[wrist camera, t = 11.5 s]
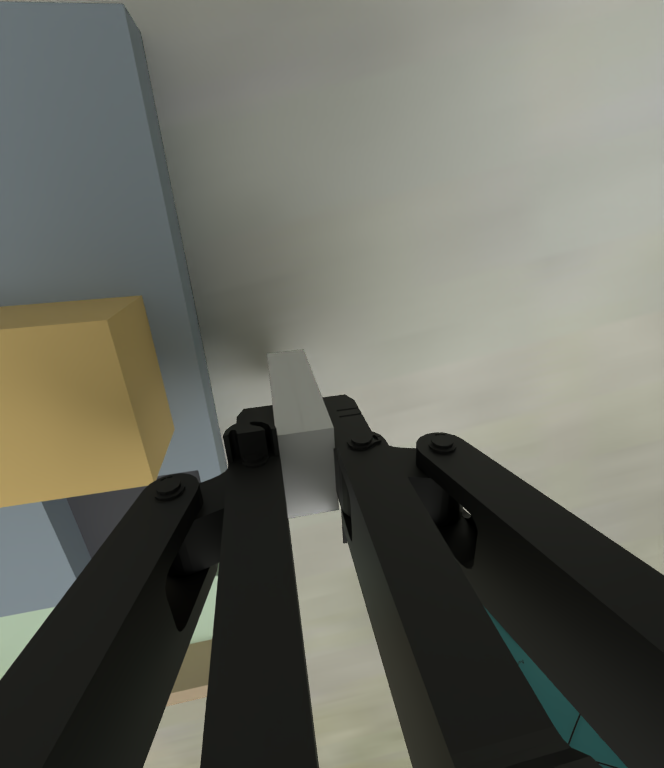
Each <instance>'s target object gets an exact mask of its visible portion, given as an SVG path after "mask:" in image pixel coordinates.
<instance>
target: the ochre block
mask: <svg viewBox="0 0 664 768" xmlns="http://www.w3.org/2000/svg"><path fill="white" fill-rule="evenodd" d="M174 430H175V428H174V424H173V420H172V416H171V412H170V408H169V404H168V400H167V396H166V392H165V387H164V383H163V379H162V375H161V371H160V367H159V363H158V359H157V355H156V351H155V347H154V343H153V339H152V334H151V330H150V326H149V322H148V318H147V314H146V310H145V306H144V302H143V298H142V295H140V296H127V297H115V298H102V299H90V300H77V301H65V302H52V303H40V304H27V305H15V306H2V307H0V508H2V507H8V506H15V505H22V504H29V503H35V502H42V501H49V500H55V499H62V498H69V497H75V496H82V495H89V494H95V493H102V492H109V491H116V490H122V489H129V488H136V487H142V486H148V485H149V484H150V483H152V482H154V481H156V479H157V476H158V474H159V471H160V468H161V465H162V463H163V460H164V457H165V455H166V452H167V449H168V446H169V444H170V441H171V438H172V435H173V433H174Z"/></svg>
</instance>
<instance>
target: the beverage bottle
mask: <svg viewBox="0 0 664 768" xmlns="http://www.w3.org/2000/svg"><path fill="white" fill-rule="evenodd" d="M484 608H485V607H484ZM485 609H486V608H485ZM486 611H487V613H488V615H489V616H490V618H491V620H492V621H493V623H494V625H495V626H496V628H497V630H498V632H499V633H500V635H501V637H502V638H503V640H504V642H505V643H506V645H507V647H508V648H509V650H510V652H511V654H512V655H513V657H514V659H515V660H516V662H517V664H518V665H519V667H520V669H521V671H522V672H523V674H524V676H525V677H526V679H527V681H528V682H529V684H530V686H531V687H532V689H533V691H534V693H535V694H536V696H537V698H538V699H539V701H540V703H541V704H542V706H543V708H544V709H545V711H546V713H547V715H548V716H549V718H550V720H551V721H552V723H553V725H554V726H555V728H556V729H557V731H558V732H559V734H560V735H561V737H562V738H563V739H564V740H565V741H566V742H567V743H568V744H569V746H570V747H571V748H574V749H576V750H578V751H580V752H583V753H585V754H587V755H590V756H591V757H592V758H593V759H594V760H595V761H596V762H597V763H598V764H599V765H601V766H602V767H603V768H627V766H626V765H625V764H624V763H623V762H622V761H621V760H620V759H619V757H618V756H617V755H616V754H615V753H614V752H613V751H612V750H611V748H610V747H609V746H608V745H607V744H606V743H605V742H604V741H603V739H602V738H601V737H600V736H599V735H598V734H597V733H596V732H595V730H594V729H593V728H592V727H591V726H590V725H589V724H588V723H587V721H586V720H585V719H584V718H583V717H582V716H581V715H580V714H579V712H578V711H577V710H576V709H575V708H574V707H573V706H572V705H571V703H570V702H569V701H568V700H567V699H566V698H565V697H564V696H563V695H562V693H561V692H560V691H559V690H558V689H557V688H556V687H555V686H554V684H553V683H552V682H551V681H550V680H549V679H548V678H547V677H546V675H545V674H544V673H543V672H542V671H541V670H540V669H539V668H538V666H537V665H536V664H535V663H534V662H533V661H532V660H531V659H530V657H529V656H528V655H527V654H526V653H525V652H524V651H523V650H522V648H521V647H520V646H519V645H518V644H517V643H516V642H515V641H514V639H513V638H512V637H511V636H510V635H509V634H508V633H507V632H506V630H505V629H504V628H503V627H502V626H501V625H500V624H499V623H498V622H497V620H496V619H495V618H494V617H493V616H492V615H491V614H490V613H489V611H488V610H487V609H486Z"/></svg>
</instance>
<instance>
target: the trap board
mask: <svg viewBox="0 0 664 768" xmlns="http://www.w3.org/2000/svg"><path fill="white" fill-rule="evenodd" d="M140 295H142V298H143V302H144V306H145V310H146V314H147V318H148V322H149V326H150V330H151V334H152V339H153V343H154V347H155V351H156V355H157V359H158V363H159V367H160V371H161V375H162V379H163V383H164V387H165V392H166V396H167V400H168V404H169V408H170V412H171V416H172V420H173V424H174V428H175V430H174V433H173V435H172V438H171V441H170V444H169V446H168V449H167V452H166V455H165V457H164V460H163V463H162V465H161V468H160V471H159V474H158V476H157V479H159V478H161V477H164V476H167V475H170V474H177V473H185V474H191V475H193V476H195V477H196V478H197V480H198V482H199V483H201V482H204V481H207V480H209V479H212V478H214V477H216V476H218V475H220V474H222V473H223V472H225V471H226V470H227V465H226V460H225V455H224V450H223V444H222V439H221V434H220V429H219V424H218V419H217V414H216V409H215V404H214V399H213V394H212V389H211V384H210V379H209V374H208V369H207V364H206V359H205V354H204V349H203V344H202V339H201V334H200V329H199V324H198V319H197V314H196V309H195V304H194V299H193V294H192V289H191V284H190V279H189V274H188V269H187V264H186V259H185V253H184V248H183V243H182V238H181V233H180V228H179V223H178V218H177V213H176V208H175V203H174V198H173V193H172V188H171V183H170V178H169V173H168V168H167V163H166V158H165V153H164V148H163V143H162V138H161V133H160V128H159V123H158V118H157V113H156V108H155V103H154V98H153V93H152V88H151V83H150V78H149V73H148V68H147V63H146V57H145V52H144V47H143V42H142V37H141V32H140V30H139V29H138V27H137V26H136V24H135V22H134V21H133V19H132V17H131V16H130V14H129V12H128V11H127V9H126V8H125V6H124V4H109V3H54V2H0V307H2V306H15V305H27V304H40V303H52V302H65V301H77V300H90V299H102V298H115V297H127V296H140ZM157 479H156V480H157ZM146 487H147V486H142V487H136V488H129V489H122V490H116V491H109V492H102V493H95V494H89V495H82V496H75V497H69V498H62V499H55V500H49V501H42V502H35V503H29V504H22V505H15V506H8V507H2V508H0V680H1V678H2V677H3V676H4V674H5V673H6V672H7V670H8V669H9V668H10V666H11V665H12V664H13V662H14V661H15V660H16V658H17V657H18V656H19V654H20V653H21V652H22V650H23V649H24V648H25V646H26V645H27V644H28V643H29V641H30V640H31V639H32V637H33V636H34V635H35V633H36V632H37V631H38V629H39V628H40V627H41V625H42V624H43V623H44V621H45V620H46V619H47V617H48V616H49V615H50V613H51V612H52V611H53V609H54V608H55V607H56V605H57V604H58V603H59V601H60V600H61V599H62V597H63V596H64V595H65V593H66V592H67V591H68V589H69V588H70V587H71V585H72V584H73V583H74V581H75V580H76V579H77V577H78V576H79V575H80V573H81V572H82V571H83V569H84V568H85V567H86V565H87V564H88V563H89V561H90V560H91V559H92V557H93V556H94V555H95V553H96V552H97V551H98V549H99V548H100V547H101V545H102V544H103V543H104V542H105V540H106V539H107V538H108V536H109V535H110V534H111V532H112V531H113V530H114V528H115V527H116V526H117V524H118V523H119V522H120V520H121V519H122V518H123V516H124V515H125V514H126V512H127V511H128V510H129V508H130V507H131V506H132V504H133V503H134V502H135V500H136V499H137V498H138V496H139V495H140V494H141V492H142V491H143V490H144V489H145V488H146ZM218 571H219V563H218V568H217V573H216V575H215V578H214V581H213V583H212V586H211V589H210V591H209V594H208V597H207V599H206V602H205V604H204V607H203V610H202V612H201V615H200V618H199V620H198V623H197V626H196V628H195V631H194V634H193V636H192V639H191V641H190V644H189V647H188V649H187V652H186V655H185V657H184V660H183V663H182V665H181V668H180V670H179V673H178V676H177V678H176V681H175V684H174V686H173V689H172V692H171V694H170V697H169V700H168V702H167V705H166V706H170V705H174V704H178V703H183V702H187V701H191V700H196V699H200V698H204V697H207V690H208V679H209V668H210V657H211V646H212V636H213V625H214V614H215V603H216V592H217V581H218Z"/></svg>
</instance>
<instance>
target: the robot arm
mask: <svg viewBox="0 0 664 768" xmlns="http://www.w3.org/2000/svg"><path fill="white" fill-rule="evenodd" d="M267 358H268V367H269V376H270V386H271V395H272V404H273V405H270V406H263V407H255V408H248V409H243V410H242V412H241V413H240V414H239V415H238V416H237V423H236V424H234V425H232V426H231V427H229V428H228V429H227V430H226V431H225V433H224V435H223V439H224V444H225V449H226V454H227V459H228V469H227V470H226V471H225V472H223V473H222V474H220V475H218V476H216V477H214V478H212V479H209V480H207V481H204V482H201V483H199V482H198V480H197V478H196V477H195V476H193V475H191V474H185V473H177V474H170V475H167V476H164V477H161V478H159V479H157V480H156V481H154V482H152V483H150V484H149V485H148V486H147V487H146V488H145V489H144V490H143V491H142V492H141V494H140V495H139V496H138V498H137V499H136V500H135V502H134V503H133V504H132V506H131V507H130V508H129V510H128V511H127V512H126V514H125V515H124V516H123V518H122V519H121V520H120V522H119V523H118V524H117V526H116V527H115V528H114V530H113V531H112V532H111V534H110V535H109V536H108V538H107V539H106V540H105V542H104V543H103V544H102V545H101V547H100V548H99V549H98V551H97V552H96V553H95V555H94V556H93V557H92V559H91V560H90V561H89V563H88V564H87V565H86V567H85V568H84V569H83V571H82V572H81V573H80V575H79V576H78V577H77V579H76V580H75V581H74V583H73V584H72V585H71V587H70V588H69V589H68V591H67V592H66V593H65V595H64V596H63V597H62V599H61V600H60V601H59V603H58V604H57V605H56V607H55V608H54V609H53V611H52V612H51V613H50V615H49V616H48V617H47V619H46V620H45V621H44V623H43V624H42V625H41V627H40V628H39V629H38V631H37V632H36V633H35V635H34V636H33V637H32V639H31V640H30V641H29V643H28V644H27V645H26V646H25V648H24V649H23V650H22V652H21V653H20V654H19V656H18V657H17V658H16V660H15V661H14V662H13V664H12V665H11V666H10V668H9V669H8V670H7V672H6V673H5V674H4V676H3V677H2V678H1V680H0V768H143V766H144V763H145V760H146V758H147V755H148V752H149V750H150V747H151V744H152V742H153V739H154V737H155V734H156V731H157V729H158V726H159V723H160V721H161V718H162V715H163V713H164V710H165V707H166V705H167V702H168V700H169V697H170V694H171V692H172V689H173V686H174V684H175V681H176V678H177V676H178V673H179V670H180V668H181V665H182V663H183V660H184V657H185V655H186V652H187V649H188V647H189V644H190V641H191V639H192V636H193V634H194V631H195V628H196V626H197V623H198V620H199V618H200V615H201V612H202V610H203V607H204V604H205V602H206V599H207V597H208V594H209V591H210V589H211V586H212V583H213V581H214V578H215V575H216V573H217V568H218V563H219V571H218V581H217V592H216V603H215V614H214V625H213V636H212V646H211V657H210V668H209V679H208V690H207V701H206V711H205V722H204V733H203V744H202V755H201V765H200V768H319V764H318V756H317V747H316V739H315V731H314V723H313V715H312V707H311V699H310V690H309V682H308V674H307V666H306V658H305V650H304V642H303V634H302V625H301V617H300V609H299V601H298V593H297V585H296V577H295V569H294V560H293V552H292V544H291V536H290V528H289V521H288V519H289V518H295V517H300V516H306V515H312V514H317V513H323V512H329V511H334V510H339V504H338V499H339V502H340V505H341V514H342V531H343V543H347V542H348V545H349V548H350V552H351V555H352V559H353V562H354V566H355V569H356V573H357V576H358V580H359V583H360V587H361V590H362V593H363V597H364V600H365V604H366V607H367V611H368V614H369V618H370V621H371V625H372V628H373V632H374V635H375V638H376V642H377V645H378V649H379V652H380V656H381V659H382V663H383V666H384V670H385V673H386V677H387V680H388V683H389V687H390V690H391V694H392V697H393V701H394V704H395V708H396V711H397V715H398V718H399V722H400V725H401V729H402V732H403V735H404V739H405V742H406V746H407V749H408V753H409V756H410V760H411V763H412V767H413V768H603V767H602V766H601V765H599V764H598V763H597V762H596V761H595V760H594V759H593V758H592V757H591V756H590V755H587V754H585V753H583V752H580V751H578V750H576V749H574V748H571V747H570V746H569V744H568V743H567V742H566V741H565V740H564V739H563V738H562V737H561V735H560V734H559V732H558V731H557V729H556V728H555V726H554V725H553V723H552V721H551V720H550V718H549V716H548V715H547V713H546V711H545V709H544V708H543V706H542V704H541V703H540V701H539V699H538V698H537V696H536V694H535V693H534V691H533V689H532V687H531V686H530V684H529V682H528V681H527V679H526V677H525V676H524V674H523V672H522V671H521V669H520V667H519V665H518V664H517V662H516V660H515V659H514V657H513V655H512V654H511V652H510V650H509V648H508V647H507V645H506V643H505V642H504V640H503V638H502V637H501V635H500V633H499V632H498V630H497V628H496V626H495V625H494V623H493V621H492V620H491V618H490V616H489V615H488V613H487V611H486V609H487V610H488V611H489V613H490V614H491V615H492V616H493V617H494V618H495V619H496V620H497V622H498V623H499V624H500V625H501V626H502V627H503V628H504V629H505V630H506V632H507V633H508V634H509V635H510V636H511V637H512V638H513V639H514V641H515V642H516V643H517V644H518V645H519V646H520V647H521V648H522V650H523V651H524V652H525V653H526V654H527V655H528V656H529V657H530V659H531V660H532V661H533V662H534V663H535V664H536V665H537V666H538V668H539V669H540V670H541V671H542V672H543V673H544V674H545V675H546V677H547V678H548V679H549V680H550V681H551V682H552V683H553V684H554V686H555V687H556V688H557V689H558V690H559V691H560V692H561V693H562V695H563V696H564V697H565V698H566V699H567V700H568V701H569V702H570V703H571V705H572V706H573V707H574V708H575V709H576V710H577V711H578V712H579V714H580V715H581V716H582V717H583V718H584V719H585V720H586V721H587V723H588V724H589V725H590V726H591V727H592V728H593V729H594V730H595V732H596V733H597V734H598V735H599V736H600V737H601V738H602V739H603V741H604V742H605V743H606V744H607V745H608V746H609V747H610V748H611V750H612V751H613V752H614V753H615V754H616V755H617V756H618V757H619V759H620V760H621V761H622V762H623V763H624V764H625V765H626V766H627V768H664V575H662V574H661V573H660V572H658V571H657V570H655V569H654V568H652V567H651V566H649V565H648V564H646V563H645V562H643V561H642V560H640V559H639V558H637V557H636V556H634V555H633V554H631V553H630V552H628V551H627V550H626V549H624V548H623V547H621V546H620V545H618V544H617V543H615V542H614V541H612V540H611V539H609V538H608V537H606V536H605V535H603V534H602V533H600V532H599V531H597V530H596V529H594V528H593V527H591V526H590V525H589V524H587V523H586V522H584V521H583V520H581V519H580V518H578V517H577V516H575V515H574V514H572V513H571V512H569V511H568V510H566V509H565V508H563V507H562V506H560V505H559V504H557V503H556V502H554V501H553V500H552V499H550V498H549V497H547V496H546V495H544V494H543V493H541V492H540V491H538V490H537V489H535V488H534V487H532V486H531V485H529V484H528V483H526V482H525V481H523V480H522V479H520V478H519V477H518V476H516V475H515V474H513V473H512V472H510V471H509V470H507V469H506V468H504V467H503V466H501V465H500V464H498V463H497V462H495V461H494V460H492V459H491V458H489V457H488V456H486V455H485V454H483V453H482V452H481V451H479V450H478V449H476V448H475V447H473V446H472V445H470V444H469V443H467V442H466V441H464V440H463V439H461V438H459V437H457V436H455V435H451V434H447V433H441V432H440V433H439V432H437V433H430V434H426V435H424V436H422V437H420V438H419V439H418V441H417V442H416V448H399V447H392V446H389V445H388V443H387V442H386V440H385V439H384V438H383V437H382V436H381V435H380V434H377V433H375V432H372V431H371V429H370V428H369V426H368V424H367V422H366V420H365V419H364V417H363V415H362V414H361V411H360V410H359V409H358V406H357V404H356V402H355V401H354V400H353V399H352V398H350V397H348V396H347V395H338V396H330V397H322V396H321V393H320V391H319V388H318V385H317V383H316V380H315V378H314V375H313V372H312V370H311V367H310V365H309V362H308V359H307V357H306V354H305V352H304V349H303V350H294V351H285V352H276V353H268V354H267ZM463 507H464V508H465V509H466V510H467V511H468V512H469V513H470V514H471V515H470V514H468V513H467V512H466V511H465V510H464V509H463ZM484 607H485V608H486V609H485V608H484Z"/></svg>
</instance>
